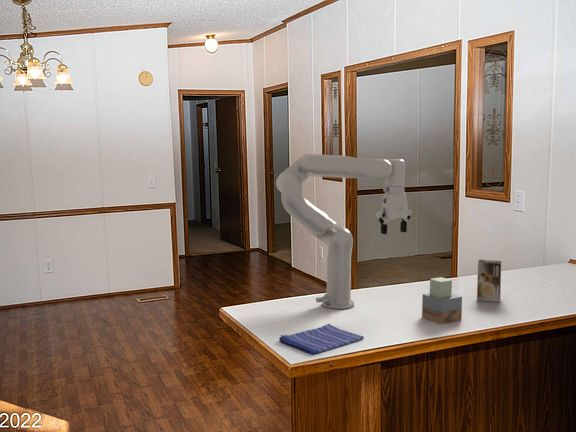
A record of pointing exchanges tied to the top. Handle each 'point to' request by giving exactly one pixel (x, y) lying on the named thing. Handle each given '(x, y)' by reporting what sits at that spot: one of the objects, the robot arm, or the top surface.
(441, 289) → the sage block
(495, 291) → the coffee box
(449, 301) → the grey square block
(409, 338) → the top surface
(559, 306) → the top surface
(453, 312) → the walnut block
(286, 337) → the dish towel
